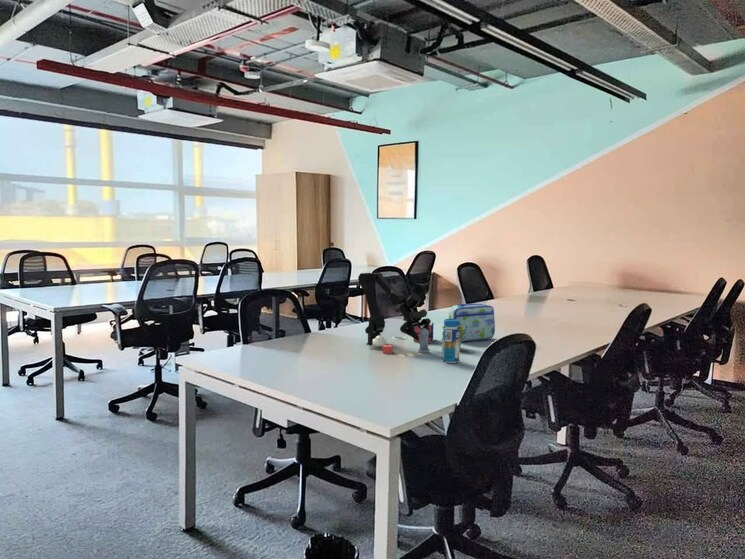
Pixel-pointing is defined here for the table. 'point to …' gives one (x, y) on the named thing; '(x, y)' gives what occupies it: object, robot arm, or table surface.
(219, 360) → the table surface
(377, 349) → the dome base
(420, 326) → the robot arm
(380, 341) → the dome
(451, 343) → the beverage bottle
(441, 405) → the table surface
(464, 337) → the lunch box
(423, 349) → the pawn
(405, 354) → the game board
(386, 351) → the red die
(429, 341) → the puzzle cube
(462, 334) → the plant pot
